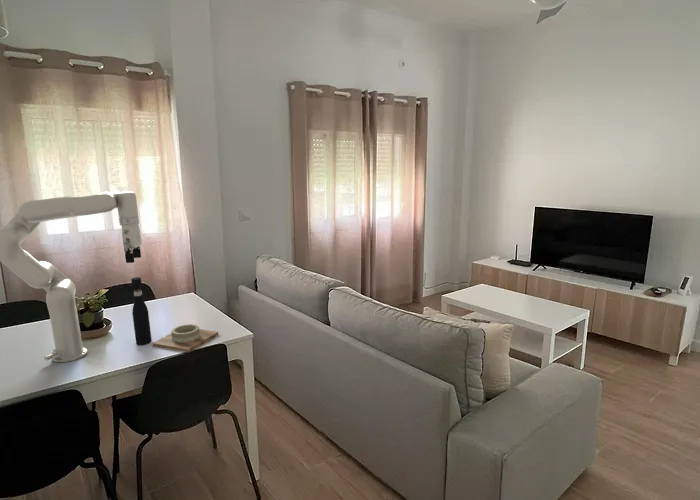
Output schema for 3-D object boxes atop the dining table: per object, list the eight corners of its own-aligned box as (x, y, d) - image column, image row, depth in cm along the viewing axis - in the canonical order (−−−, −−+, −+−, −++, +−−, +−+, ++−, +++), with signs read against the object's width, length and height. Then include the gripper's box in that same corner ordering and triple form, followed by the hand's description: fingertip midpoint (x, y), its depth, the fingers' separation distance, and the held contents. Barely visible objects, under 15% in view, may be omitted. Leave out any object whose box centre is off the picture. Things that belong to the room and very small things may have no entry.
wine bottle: (147, 345, 193) (139, 280, 187) (133, 345, 193) (124, 280, 187) (154, 339, 199) (146, 276, 193) (140, 339, 200) (132, 276, 193)
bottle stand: (188, 352, 185) (187, 340, 184) (152, 346, 192) (151, 334, 191) (218, 334, 203) (217, 323, 202) (184, 329, 210) (183, 319, 209)
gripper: (132, 223, 178) (137, 264, 181) (144, 218, 194) (148, 255, 198) (112, 224, 176) (117, 265, 180) (126, 218, 193) (130, 256, 197)
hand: (133, 260), depth 189 cm, fingers open, 9 cm apart
